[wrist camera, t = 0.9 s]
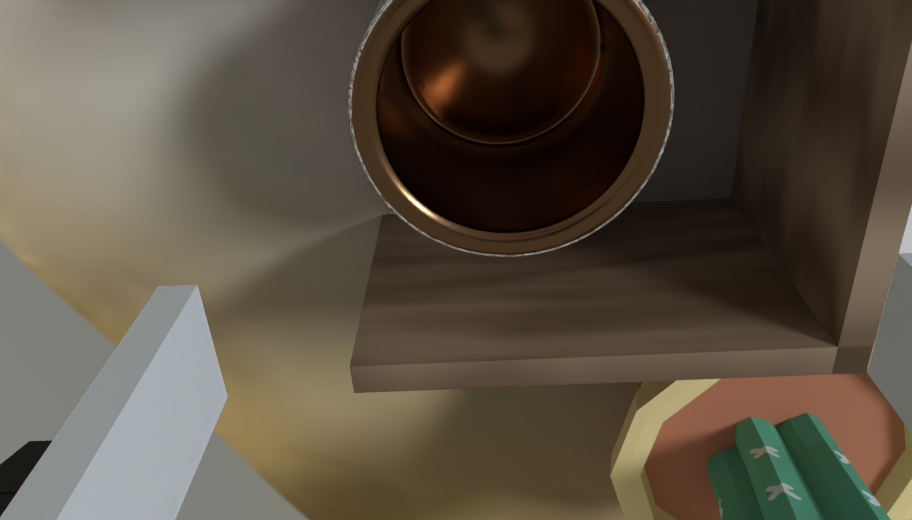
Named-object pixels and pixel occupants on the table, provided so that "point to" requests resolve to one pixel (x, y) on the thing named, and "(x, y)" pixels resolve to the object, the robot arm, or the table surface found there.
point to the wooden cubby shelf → (690, 244)
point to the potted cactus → (763, 451)
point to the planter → (510, 117)
